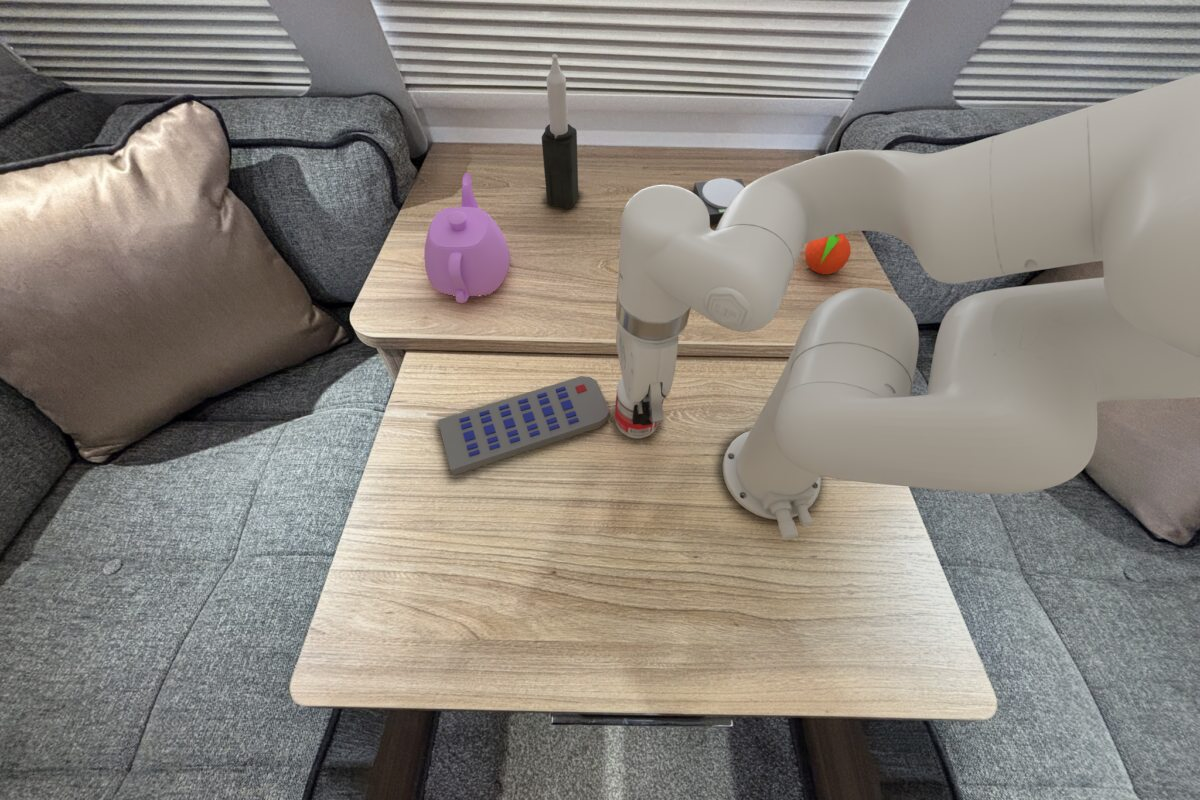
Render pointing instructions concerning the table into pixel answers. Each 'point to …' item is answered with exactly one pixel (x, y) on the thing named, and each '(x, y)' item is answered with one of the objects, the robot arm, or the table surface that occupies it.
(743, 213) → the robot arm
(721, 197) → the scale
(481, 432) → the remote control
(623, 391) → the pill bottle
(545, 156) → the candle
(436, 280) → the teapot
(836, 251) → the clementine
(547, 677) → the table surface
